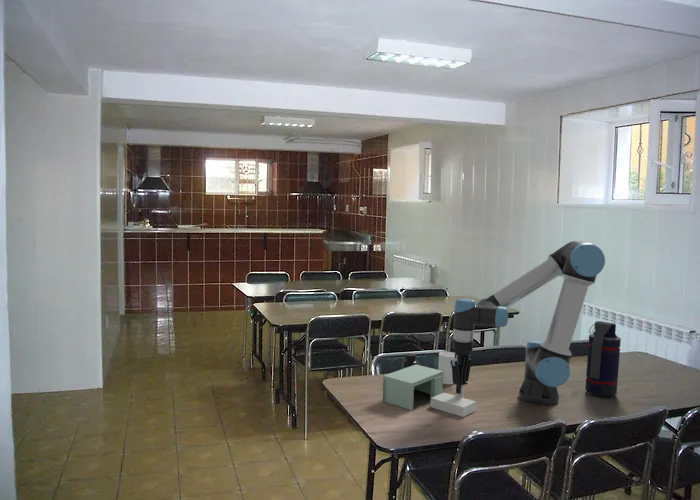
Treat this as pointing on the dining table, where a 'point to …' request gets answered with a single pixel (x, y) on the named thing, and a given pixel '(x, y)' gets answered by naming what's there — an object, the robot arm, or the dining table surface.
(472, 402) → the lid
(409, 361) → the supplement bottle
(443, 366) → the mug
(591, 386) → the grenade
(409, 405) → the shelf
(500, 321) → the robot arm
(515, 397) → the dining table surface
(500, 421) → the dining table surface
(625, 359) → the dining table surface
